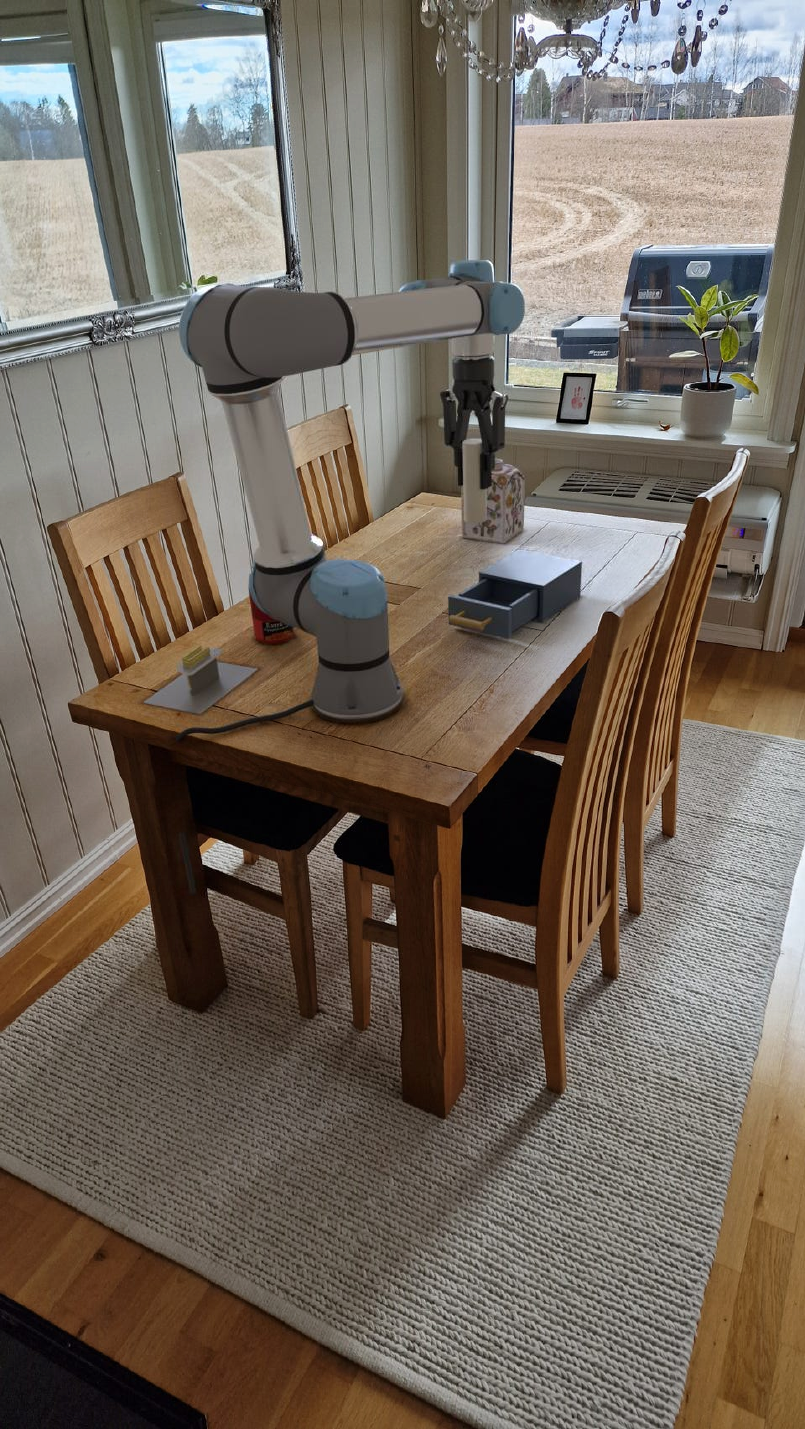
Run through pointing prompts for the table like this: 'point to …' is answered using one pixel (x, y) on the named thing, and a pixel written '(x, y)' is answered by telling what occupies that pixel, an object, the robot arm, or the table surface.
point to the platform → (200, 682)
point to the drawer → (494, 607)
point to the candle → (473, 483)
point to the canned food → (269, 626)
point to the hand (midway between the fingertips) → (474, 485)
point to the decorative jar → (500, 507)
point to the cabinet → (540, 578)
